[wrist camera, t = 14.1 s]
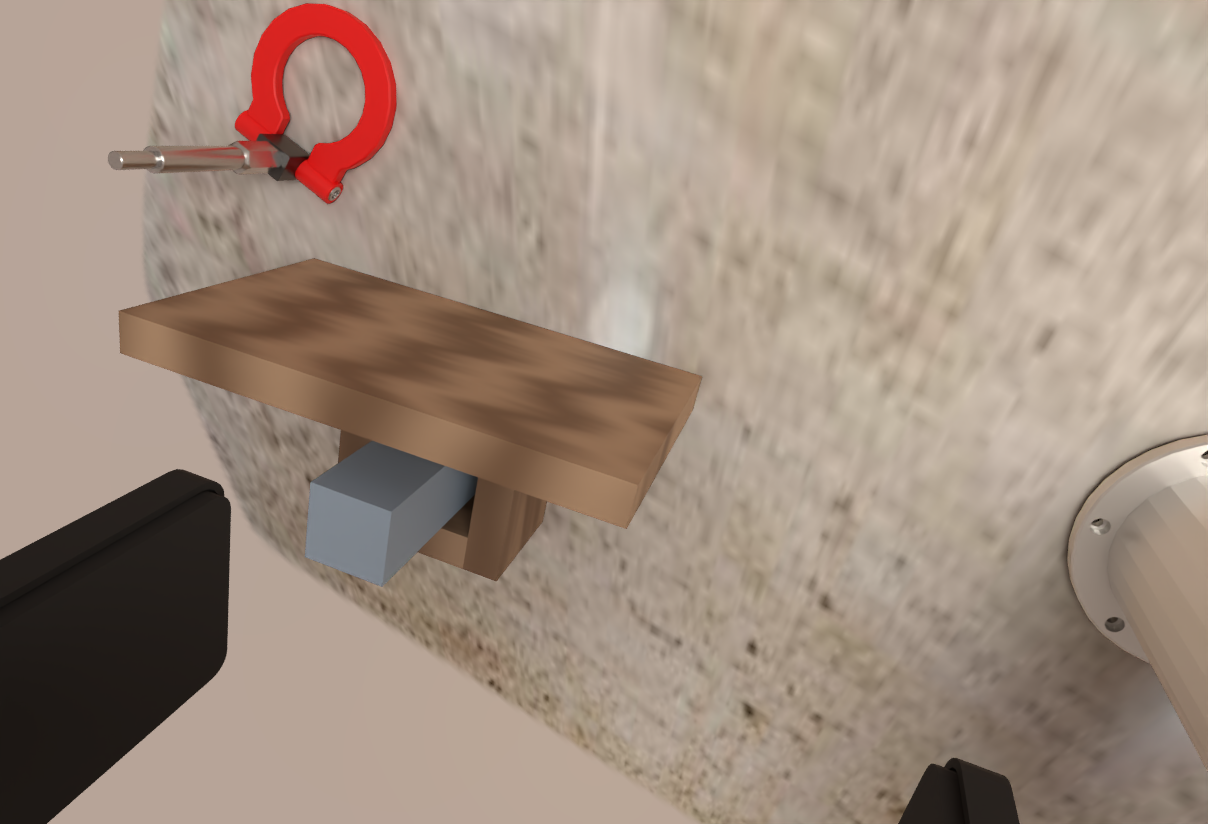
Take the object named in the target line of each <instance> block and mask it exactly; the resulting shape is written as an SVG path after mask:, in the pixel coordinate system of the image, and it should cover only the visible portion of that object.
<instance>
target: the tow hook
mask: <svg viewBox="0 0 1208 824" xmlns="http://www.w3.org/2000/svg"><path fill="white" fill-rule="evenodd" d="M317 36H325V37H329V38H332V39H334V40H336V41H337V42H339V43H340V44H342V45H343V46H344V47H346V48H347V50H348V51H349V52H350V53H351V55H352V56H353V57H354V58H355V60H356V62H357V64H358V66H359V68H360V70H361V72H362V76H363V80H364V84H365V105H364V110H363V114H362V116H361V119H360V121H359V123H358V125H357V126H356V128H355V129H354V130H353V131H352V132H351V133H350V134H349V135H348V136H347V137H345V138H343V139H342V140H340V141H337V142H333V143H318V144H316V145H315V146H314V148H313V150H312V152H311V154H310V155H309V154H308V153H307V152H305V151H304V150H303V149H302V148H300V147H299V146H298V145H297V144H295V143H294V142H293V141H292V140H291V139H289V138H288V137H287V136H286V135H284V134H283V132H284V130H285V128H286V126H287V124H288V122H289V120H290V116H289V112H288V110H287V108H286V105H285V101H284V97H283V89H282V78H283V72H284V67H285V64H286V62H287V60H288V57H289V55H290V54H291V53H292V52H293V50H294V49H295V48H296V46H298V45H299V44H301V43H302V42H303V41H305V40H306V39H310V38H313V37H317ZM251 80H252V94H253V101H252V103H251V105H250V108H249V110H246V111H244V112H243V113H241V114H240V115H239V117H238V118H237V120H236V122H235V128H236V130H237V131H238V132H240V133H241V134H242V135H243V136H245V137H246V138H247V139H248V140H250V141H236V142H234V143H232V144H230V145H228V146H148V147H146V148H145V149H144V150H143V151H112V152H110V153H109V155H108V162H109V164H110V166H111V167H112V168H113V169H115V170H129V169H147V170H148V171H150V172H151V173H177V172H200V171H224V170H233V171H234V172H235V173H237V174H240V175H242V174H259V173H268V174H269V175H270V176H271V177H273V178H274V179H275V180H276V181H283V180H299V181H300V182H301V183H302V184H304V185H305V186H306V187H307V188H309V189H310V190H311V191H312V192H313V193H315V194H316V195H317V196H318V197H320V198H321V199H322V200H323V201H325V202H326V203H327V204H329V203H332V202H334V201H335V200H336V199H337V198H338V197H339V195H340V194H341V192H342V190H343V185H342V184H341V183H340V182H341V180H342V178H343V176H344V174H345V172H346V170H349V169H353V168H356V167H358V166H360V165H361V164H363V163H365V162H366V161H368V160H370V159H371V158H372V157H373V156H374V155H375V154H376V152H377V151H378V150H379V149H380V148H381V147H382V146H383V144H384V142H385V140H386V138H387V136H388V134H389V132H390V130H391V128H392V124H393V120H394V115H395V111H396V83H395V78H394V74H393V70H392V66H391V62H390V60H389V58H388V56H387V54H386V52H385V50H384V48H383V46H382V44H381V42H380V41H379V40H378V38H377V37H376V36H375V35H374V34H373V32H372V31H371V30H370V29H369V27H368V26H367V25H366V24H364V23H363V22H362V21H360V20H359V19H358V18H356V17H355V16H354V15H352V14H351V13H349V12H346V11H344V10H341V9H338V8H336V7H333V6H330V5H326V4H308V3H306V4H303V5H300V6H296V7H293V8H290V9H288V10H286V11H285V12H283V13H282V14H281V15H279V16H278V17H276V18H275V19H274V20H273V21H272V22H271V24H270V25H269V26H268V28H267V29H266V30H265V31H264V33H263V34H262V36H261V38H260V41H259V43H258V46H257V48H256V51H255V53H254V59H253V65H252V72H251Z"/></svg>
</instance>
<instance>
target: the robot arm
mask: <svg viewBox="0 0 1208 824" xmlns="http://www.w3.org/2000/svg"><path fill="white" fill-rule="evenodd" d="M1205 451H1208V435H1203V436H1198V437H1192V438H1187V439H1181V440H1178V441H1175V442H1172V443H1169V444H1166V445H1163V446H1160V447H1158V448H1155V449H1152V450H1150V451H1148V452H1146V453H1144V454H1142V455H1140V456H1138V457H1137V458H1135V459H1133V460H1131V461H1129V462H1127V463H1126V464H1124V465H1123V466H1122V467H1120V468H1119V469H1118V470H1116V471H1115V472H1114V473H1112V474H1111V475H1110V476H1109V477H1107V478H1106V479H1105V480H1104V481H1103V482H1102V483H1101V484H1100V485H1099V486H1098V487H1097V489H1096V490H1095V491H1094V492H1093V493H1092V494H1091V495H1090V496H1089V497H1088V499H1087V500H1086V502H1085V504H1084V505H1083V507H1082V509H1081V510H1080V512H1079V514H1078V515H1077V517H1076V519H1075V522H1074V525H1073V528H1072V531H1071V534H1070V537H1069V544H1068V557H1067V562H1068V568H1069V575H1070V581H1071V583H1072V586H1073V588H1074V591H1075V593H1076V596H1077V598H1078V601H1079V602H1080V604H1081V606H1082V608H1083V609H1084V611H1085V613H1086V615H1087V616H1088V618H1089V620H1090V621H1091V622H1092V623H1093V624H1094V625H1095V627H1096V628H1097V629H1098V630H1099V631H1100V632H1101V633H1102V634H1103V635H1104V636H1105V637H1106V638H1108V639H1109V640H1110V641H1112V642H1113V643H1114V644H1115V645H1117V646H1118V647H1119V648H1121V649H1122V650H1124V651H1125V652H1127V653H1129V654H1131V655H1133V656H1135V657H1137V658H1139V659H1141V660H1143V661H1145V662H1147V663H1150V664H1151V666H1152V668H1153V669H1154V671H1155V673H1156V675H1157V677H1158V679H1159V681H1160V683H1161V685H1162V686H1163V688H1164V690H1165V692H1166V694H1167V696H1168V698H1169V700H1170V702H1171V703H1172V705H1173V707H1174V709H1175V711H1176V713H1177V715H1178V717H1179V719H1180V720H1181V722H1182V724H1183V726H1184V728H1185V730H1186V732H1187V734H1188V736H1189V737H1190V739H1191V741H1192V743H1193V745H1194V747H1195V749H1196V751H1197V753H1198V755H1199V756H1200V758H1201V760H1202V762H1203V764H1204V766H1205V768H1206V770H1207V772H1208V454H1207V455H1204V456H1203V455H1202V454H1203V453H1204V452H1205ZM230 517H231V506H230V502H229V500H228V499H227V498H225V497H224V490H223V488H222V486H221V485H220V484H218V483H217V482H215V481H212V480H209V479H207V478H204V477H201V476H199V475H196V474H193V473H191V472H188V471H185V470H178V469H176V470H173V471H170V472H168V473H166V474H164V475H162V476H160V477H158V478H156V479H154V480H152V481H151V482H149V483H147V484H145V485H143V486H141V487H139V488H137V489H135V490H133V491H131V492H129V493H128V494H126V495H124V496H122V497H120V498H118V499H116V500H115V501H112V502H111V503H108V504H106V505H105V506H103V507H101V508H99V509H97V510H95V511H93V512H91V513H89V514H87V515H85V516H83V517H82V518H80V519H78V520H76V521H74V522H72V523H70V524H68V525H66V526H64V527H62V528H60V529H58V530H57V531H55V532H53V533H51V534H49V535H47V536H45V537H43V538H41V539H39V540H37V541H35V542H34V543H32V544H30V545H28V546H26V547H24V548H22V549H20V550H18V551H16V552H14V553H12V554H11V555H9V556H7V557H5V558H3V559H1V560H0V824H47V823H48V822H49V821H50V820H51V819H52V818H54V817H55V816H56V815H57V814H58V813H59V812H60V811H62V809H64V808H65V807H66V806H67V805H69V804H70V803H71V802H72V801H73V800H74V799H75V798H76V797H78V796H79V795H80V794H81V793H82V792H83V791H84V790H86V789H87V788H88V787H89V786H90V785H91V784H92V783H94V782H95V781H96V780H97V779H98V778H99V777H100V776H102V775H103V774H104V773H105V772H106V771H107V770H108V769H109V768H111V767H112V766H113V765H114V764H115V763H116V762H118V761H119V760H120V759H121V758H122V757H123V756H124V755H125V754H127V753H128V752H129V751H130V750H131V749H132V748H134V747H135V746H136V745H137V744H138V743H139V742H140V741H142V740H143V739H144V738H145V737H146V736H147V735H148V734H150V733H151V732H152V731H153V730H154V729H155V728H156V727H157V726H159V725H160V724H161V723H162V722H163V721H164V720H166V719H167V718H168V717H169V716H170V715H171V714H172V713H174V712H175V711H176V710H177V709H178V708H179V707H180V706H181V705H183V704H184V703H185V702H186V701H187V700H188V699H189V698H191V697H192V696H193V695H194V694H195V693H196V692H198V690H200V689H201V688H202V687H203V686H204V685H205V684H207V683H208V682H209V681H210V680H211V679H212V678H213V677H214V676H215V675H216V674H217V673H218V671H219V670H220V668H221V667H222V665H223V663H224V660H225V657H226V654H227V636H228V635H227V634H228V598H229V597H228V596H229V560H230V559H229V558H230V522H231V518H230ZM1096 519H1100V520H1099V521H1098V522H1093V521H1094V520H1096ZM1111 617H1112V618H1111ZM898 824H1020V823H1019V819H1018V815H1017V810H1016V806H1015V801H1014V797H1013V792H1012V788H1011V785H1010V783H1009V780H1008V779H1007V778H1006V777H1005V776H1003V775H1000V774H998V773H995V772H992V771H990V770H987V769H984V768H982V767H979V766H976V765H974V764H971V763H968V762H966V761H963V760H960V759H958V758H952V759H950V760H949V761H948V762H947V764H946V765H945V767H941V766H939V765H936V764H930V765H929V766H928V768H927V769H926V771H925V772H924V774H923V776H922V778H921V780H920V782H919V784H918V786H917V788H916V790H915V792H914V794H913V796H912V798H911V800H910V802H909V804H908V806H907V808H906V810H905V812H904V813H903V815H902V817H901V819H900V821H899V823H898Z"/></svg>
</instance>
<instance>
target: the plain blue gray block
mask: <svg viewBox="0 0 1208 824" xmlns="http://www.w3.org/2000/svg"><path fill="white" fill-rule="evenodd" d="M477 481H478V477H476V476H473V475H470V474H467V473H464V472H461V471H458V470H455V469H453V468H450V467H447V466H444V465H441V464H438V463H435V462H432V461H430V460H427V459H424V458H421V457H418V456H415V455H412V454H409V453H406V452H404V451H401V450H398V449H395V448H392V447H389V446H386V445H383V444H381V443H378V442H375V441H371V442H369V443H368V444H366V445H365V446H363V447H362V448H360V449H359V450H357V451H356V452H354V453H353V454H351V455H350V456H348V457H347V458H345V459H344V460H343V461H341V462H340V463H338V464H337V465H335V466H334V467H332V468H331V469H329V470H328V471H326V472H325V473H323V474H322V475H320V476H319V477H317V478H316V479H314V480H313V481H311V483H310V496H309V509H308V522H307V535H306V549H305V557H306V558H309V559H311V560H314V561H317V562H319V563H322V564H324V565H327V566H330V567H332V568H335V569H337V570H340V571H342V572H345V573H348V574H350V575H353V576H355V577H358V578H360V579H363V580H366V581H368V582H371V583H373V584H376V585H379V586H381V587H383V586H384V585H385V584H386V583H387V582H388V581H389V580H390V579H391V578H392V577H393V576H394V575H395V574H396V573H397V572H398V571H399V570H400V569H401V568H402V567H403V566H404V565H405V564H406V563H407V562H408V561H409V560H410V559H411V558H412V557H413V556H414V555H415V554H416V553H417V552H418V551H419V550H420V549H421V548H422V547H423V546H424V545H425V544H426V543H427V542H428V541H429V540H430V539H431V538H432V537H433V536H434V535H435V534H436V533H437V532H438V531H439V530H440V529H441V528H442V527H443V526H444V525H445V524H446V523H447V522H448V521H449V520H450V519H451V518H452V517H453V516H454V515H455V514H456V513H457V512H458V511H459V510H460V509H461V508H462V507H463V506H464V505H465V504H466V503H467V502H468V501H469V500H470V499H471V498H472V497H473V496H474V495H475V492H476V487H477Z"/></svg>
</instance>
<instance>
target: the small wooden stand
mask: <svg viewBox="0 0 1208 824" xmlns="http://www.w3.org/2000/svg"><path fill="white" fill-rule="evenodd" d="M119 332H120V353H122V354H124V355H127V356H130V357H133V358H136V359H139V360H141V361H144V362H147V363H150V364H153V365H156V366H159V367H162V368H164V369H167V370H170V371H173V372H176V373H179V374H182V375H185V376H187V377H190V378H193V379H196V380H199V381H202V382H205V383H208V384H211V385H213V386H216V387H219V388H222V389H225V390H228V391H231V392H234V393H236V394H239V395H242V396H245V397H248V398H251V399H254V400H257V401H260V402H262V403H265V404H268V405H271V406H274V407H277V408H280V409H283V410H285V411H288V412H291V413H294V414H297V415H300V416H303V417H306V418H309V419H311V420H314V421H317V422H320V423H323V424H326V425H329V426H332V427H334V428H337V429H340V430H341V435H340V447H339V458H338V463H340V462H341V461H343V460H344V459H345V458H347V457H348V456H350V455H351V454H353V453H354V452H356V451H357V450H359V449H360V448H362V447H363V446H365V445H366V444H368V443H369V442H371V441H375V442H378V443H381V444H383V445H386V446H389V447H392V448H395V449H398V450H401V451H404V452H406V453H409V454H412V455H415V456H418V457H421V458H424V459H427V460H430V461H432V462H435V463H438V464H441V465H444V466H447V467H450V468H453V469H455V470H458V471H461V472H464V473H467V474H470V475H473V476H476V477H478V481H477V487H476V492H475V495H474V496H473V497H472V498H471V499H470V500H469V501H468V502H467V503H466V504H465V505H464V506H463V507H462V508H461V509H460V510H459V511H458V512H457V513H456V514H455V515H454V516H453V517H452V518H451V519H450V520H449V521H448V522H447V523H446V524H445V525H444V526H443V527H442V528H441V529H440V530H439V531H438V532H437V533H436V534H435V535H434V536H433V537H432V538H431V539H430V540H429V541H428V542H427V543H426V544H425V545H424V546H423V547H422V548H421V549H420V550H419V551H418V552H419V553H421V554H424V555H427V556H430V557H432V558H435V559H438V560H440V561H443V562H446V563H448V564H451V565H454V566H456V567H459V568H462V569H465V570H467V571H470V572H473V573H475V574H478V575H481V576H483V577H486V578H489V579H491V580H494V581H497V580H498V579H499V577H500V576H501V575H502V574H503V572H504V571H505V570H506V568H507V567H508V566H509V564H510V563H511V562H512V561H513V559H514V558H515V557H516V555H517V554H518V553H519V551H520V550H521V549H522V548H523V546H524V545H525V544H526V542H527V541H528V540H529V539H530V537H531V536H532V535H533V533H534V532H535V531H536V529H537V528H538V527H539V526H540V524H541V523H542V522H543V517H544V513H545V508H546V503H547V501H548V502H551V503H553V504H556V505H559V506H562V507H565V508H568V509H571V510H574V511H576V512H579V513H582V514H585V515H588V516H591V517H594V518H597V519H600V520H602V521H605V522H608V523H611V524H614V525H617V526H620V527H623V528H625V529H627V527H628V525H629V523H630V522H631V520H632V518H633V516H634V515H635V513H636V511H637V509H638V507H639V506H640V504H641V502H642V500H643V498H644V497H645V495H646V493H647V491H648V489H649V488H650V486H651V484H652V482H653V480H654V479H655V477H656V475H657V473H658V471H659V470H660V468H661V466H662V464H663V462H664V461H665V459H666V457H667V455H668V454H669V452H670V450H671V448H672V446H673V445H674V443H675V441H676V439H677V437H678V436H679V434H680V432H681V430H682V428H683V427H684V425H685V423H686V421H687V419H688V418H689V416H690V414H691V412H692V410H693V408H694V404H695V400H696V397H697V393H698V390H699V386H700V383H701V379H702V376H699V375H696V374H692V373H689V372H686V371H682V370H679V369H676V368H673V367H669V366H666V365H663V364H659V363H656V362H653V361H650V360H646V359H643V358H640V357H636V356H633V355H630V354H627V353H623V352H620V351H617V350H613V349H610V348H607V347H604V346H600V345H597V344H594V343H590V342H587V341H584V340H581V339H577V338H574V337H571V336H567V335H564V334H561V333H557V332H554V331H551V330H548V329H544V328H541V327H538V326H534V325H531V324H528V323H525V322H521V321H518V320H515V319H511V318H508V317H505V316H502V315H498V314H495V313H492V312H488V311H485V310H482V309H479V308H475V307H472V306H469V305H465V304H462V303H459V302H456V301H452V300H449V299H446V298H442V297H439V296H436V295H433V294H429V293H426V292H423V291H419V290H416V289H413V288H410V287H406V286H403V285H400V284H396V283H393V282H390V281H387V280H383V279H380V278H377V277H373V276H370V275H367V274H364V273H360V272H357V271H354V270H350V269H347V268H344V267H341V266H337V265H334V264H331V263H327V262H324V261H321V260H318V259H310V260H306V261H303V262H299V263H295V264H291V265H288V266H284V267H280V268H277V269H273V270H269V271H265V272H262V273H258V274H254V275H250V276H247V277H243V278H239V279H236V280H232V281H228V282H224V283H221V284H217V285H213V286H210V287H206V288H202V289H198V290H195V291H191V292H187V293H183V294H180V295H176V296H172V297H169V298H165V299H161V300H157V301H154V302H150V303H146V304H142V305H139V306H136V307H131V308H128V309H124V310H120V311H119Z"/></svg>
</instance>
